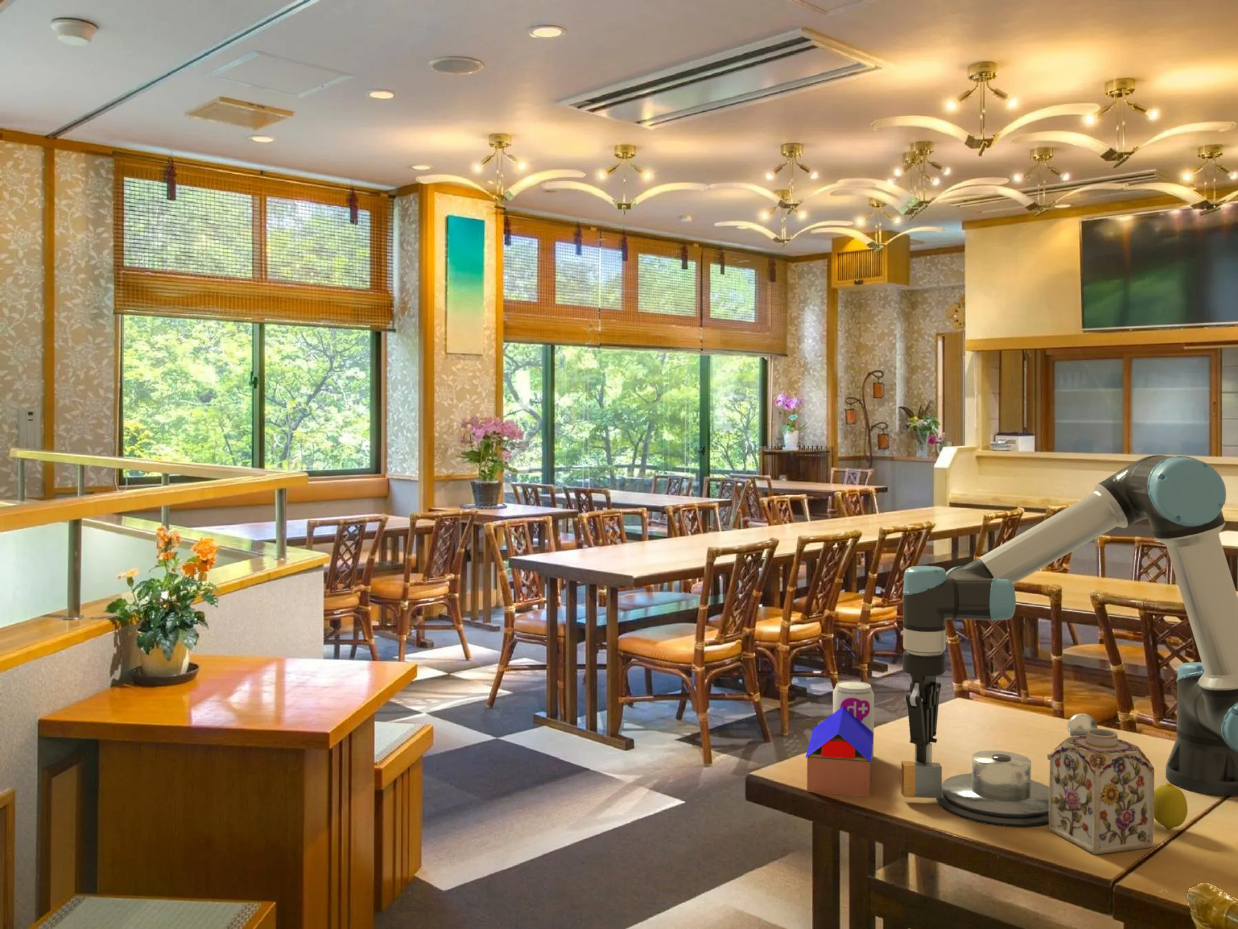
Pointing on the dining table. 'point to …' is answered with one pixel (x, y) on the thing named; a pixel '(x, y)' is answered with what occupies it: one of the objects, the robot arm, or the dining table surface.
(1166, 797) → the lemon
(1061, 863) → the dining table surface
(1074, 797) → the decorative jar
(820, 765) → the house
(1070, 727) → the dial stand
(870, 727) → the supplement can
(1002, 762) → the cover
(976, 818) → the turntable base
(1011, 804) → the turntable
